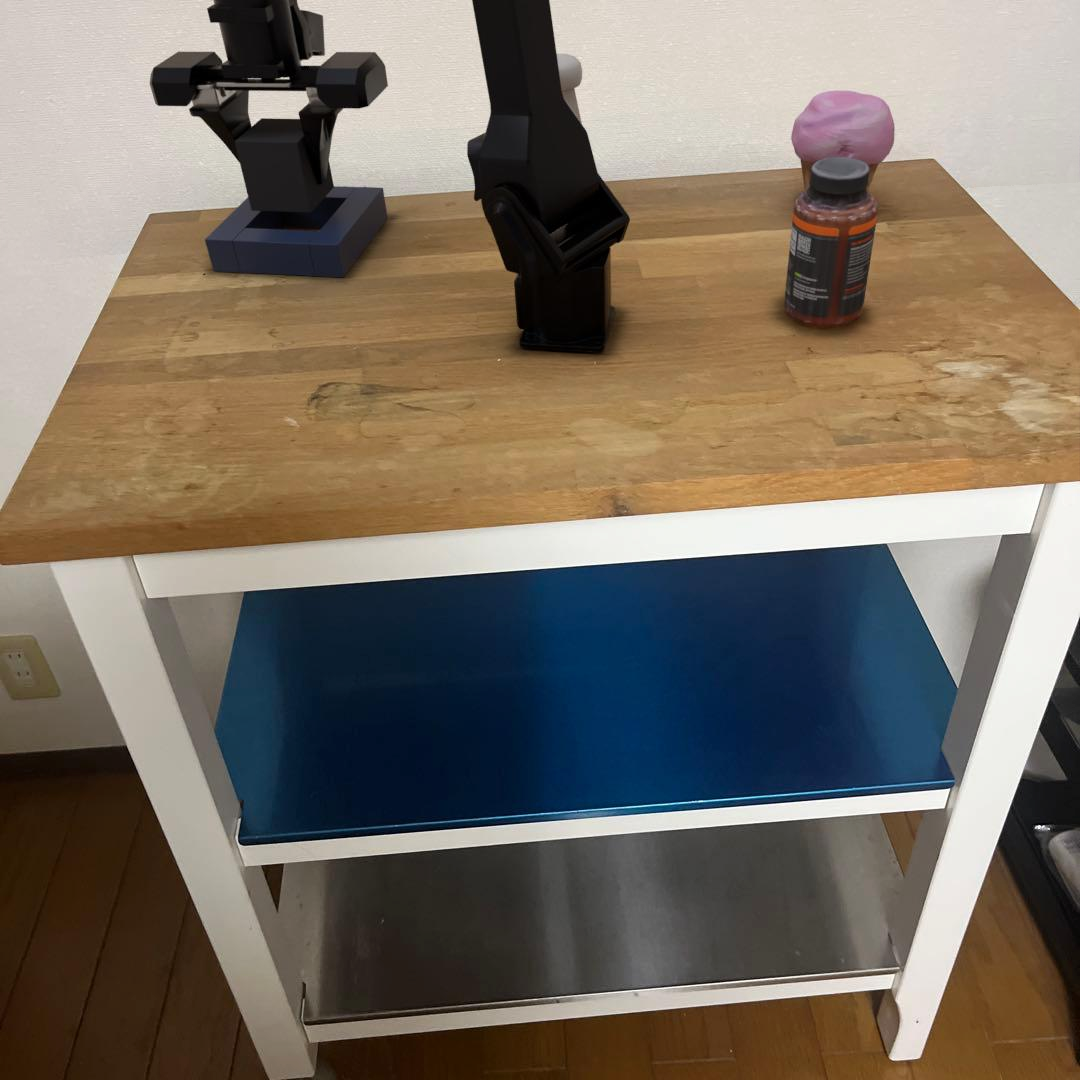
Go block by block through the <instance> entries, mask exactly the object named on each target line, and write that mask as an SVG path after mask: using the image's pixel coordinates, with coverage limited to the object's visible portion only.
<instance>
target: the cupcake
mask: <svg viewBox="0 0 1080 1080" xmlns="http://www.w3.org/2000/svg"><path fill="white" fill-rule="evenodd" d="M895 132H896V131H895V122H894V117H893V115H892V112H891V108H890V105H888V104H887V102H886V101H885V100H884V99H883V98H881V97H879V96H877V95H873V94H867V93H861V92H857V91H851V90H829V91H823V92H820V93H818V94H816V95H814V96H813V97H812V98H811V100H810V102H809V103H808V104H807V106H806V107H804V109H803V111H802V112H801V113H799V115H798V116H797V117H796V118H795V119H794V122H793V126H792V130H791V136H790V140H791V143H792V146H793V150H794V153H795V155H796V156H797V157H798V159H800V167H801V173H802V180H803V187H804V191H806V190H807V189H808V188H809V187H810V184H809V182H810V177H811V168H812V165H814V164H815V163H816V162H817V161H820V160H823V159H826V158H834V157H845V158H853V159H857V160H860V161H862V162H864V163H866V164H867V165H868V166H869V169H870V172H869V178H868V182H869V184H868V186H867V188H866V191H868V192H869V189H870V186H871V184H872V182H873V180H874V179H873V178H874V176H875V174H876V171H877V168H878V166H879V164H880V163H883V161H884V160H885V159H886V158H887V156H889V155H890V153H891V151H892V148H893V147H894V143H895Z"/></svg>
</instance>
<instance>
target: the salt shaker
mask: <svg viewBox="0 0 1080 1080" xmlns="http://www.w3.org/2000/svg"><path fill="white" fill-rule="evenodd" d="M557 61H558V68H559V75H560V83H561V90H562V94H563V98H564V100H565V101H566V102H567V104H568V105H569V107H570V108H571V110H572V111H573V112H574V114H575V115H576V117H577V118H578V119H579V121H580V122H581V124H582V125H583V122H582V118H581V113H580V109H579V103H578V99H577V93H576V88H578V87H579V86H580V85H581V83H582V80H583V68H582V62H581V61H580V60H579V59H578V58H577V57H576V56H575V55H573V54H569V53H568V54H567V53H557Z"/></svg>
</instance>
